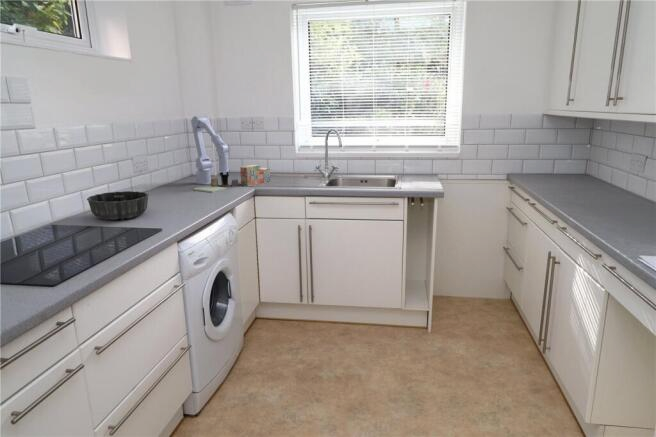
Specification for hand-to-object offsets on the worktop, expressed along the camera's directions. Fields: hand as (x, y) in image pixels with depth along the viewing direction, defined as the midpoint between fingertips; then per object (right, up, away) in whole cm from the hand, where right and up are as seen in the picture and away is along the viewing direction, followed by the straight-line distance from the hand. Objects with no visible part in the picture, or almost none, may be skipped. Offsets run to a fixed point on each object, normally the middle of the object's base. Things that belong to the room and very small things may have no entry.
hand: (224, 184), depth 284 cm
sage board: (-7, -4, -12) cm, 14 cm away
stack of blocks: (+18, +1, +12) cm, 22 cm away
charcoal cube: (+6, -1, +2) cm, 7 cm away
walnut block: (0, -1, 0) cm, 2 cm away
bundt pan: (-32, -22, -75) cm, 85 cm away
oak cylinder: (-6, -2, -1) cm, 7 cm away
